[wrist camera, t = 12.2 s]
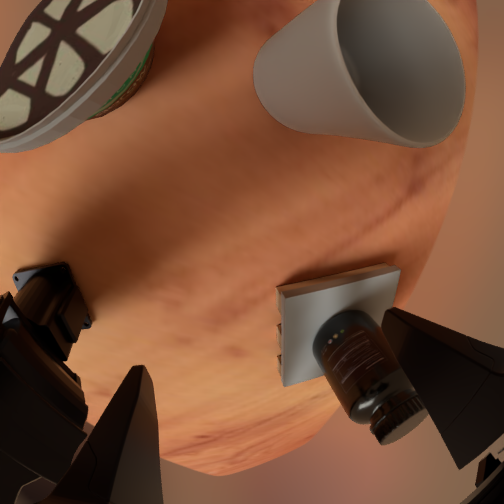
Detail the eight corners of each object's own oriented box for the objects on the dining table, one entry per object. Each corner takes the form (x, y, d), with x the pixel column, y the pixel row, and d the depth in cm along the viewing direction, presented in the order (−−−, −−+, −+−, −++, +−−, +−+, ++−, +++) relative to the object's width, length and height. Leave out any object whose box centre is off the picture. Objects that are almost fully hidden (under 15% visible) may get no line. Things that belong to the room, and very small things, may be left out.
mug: (335, 150, 20) (444, 181, 10) (234, 107, 17) (295, 85, 7) (376, 35, 16) (476, 15, 6) (289, -15, 13) (367, -82, 3)
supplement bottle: (379, 324, 26) (446, 404, 16) (331, 366, 27) (384, 453, 17) (351, 293, 23) (437, 390, 13) (296, 344, 24) (354, 453, 14)
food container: (106, 170, 17) (42, 212, 8) (44, 133, 14) (-46, 150, 5) (209, 28, 14) (237, -48, 5) (142, -6, 11) (123, -85, 3)
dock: (277, 370, 29) (284, 387, 27) (275, 282, 24) (285, 298, 22) (367, 342, 31) (377, 355, 29) (386, 258, 26) (400, 269, 24)
